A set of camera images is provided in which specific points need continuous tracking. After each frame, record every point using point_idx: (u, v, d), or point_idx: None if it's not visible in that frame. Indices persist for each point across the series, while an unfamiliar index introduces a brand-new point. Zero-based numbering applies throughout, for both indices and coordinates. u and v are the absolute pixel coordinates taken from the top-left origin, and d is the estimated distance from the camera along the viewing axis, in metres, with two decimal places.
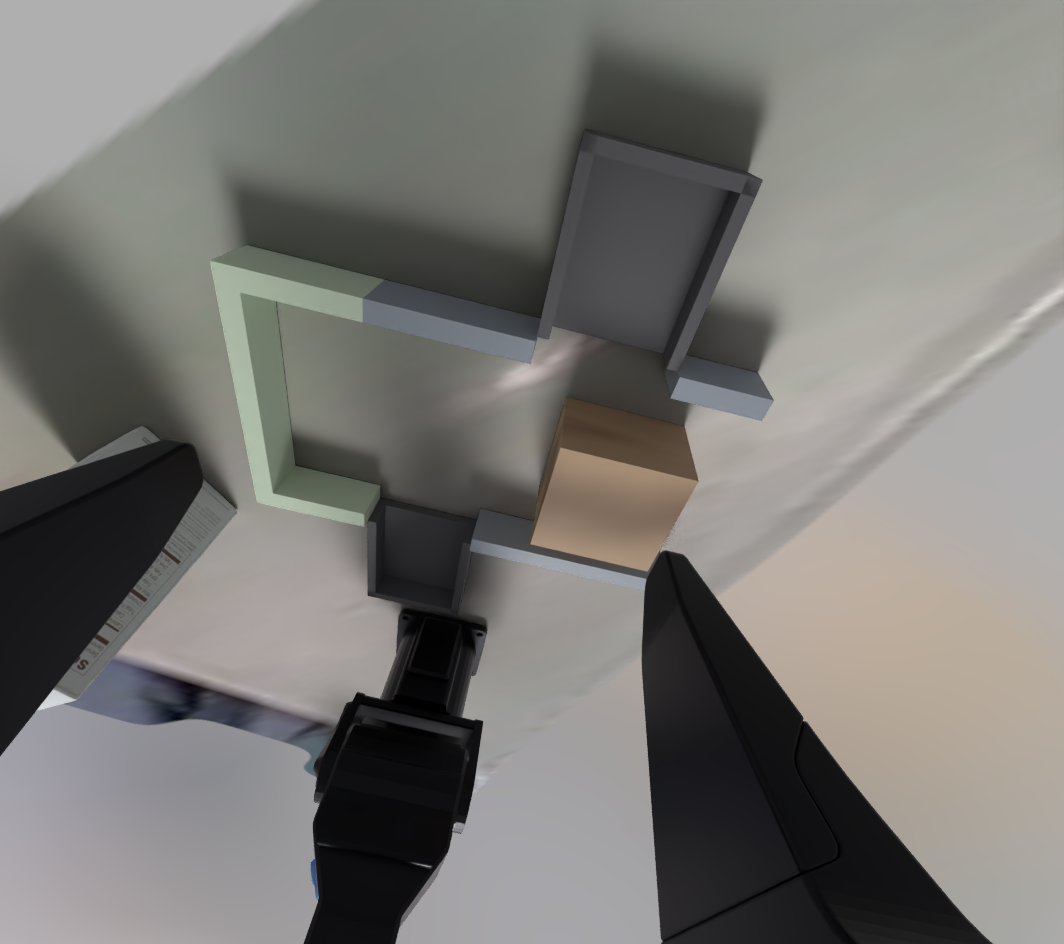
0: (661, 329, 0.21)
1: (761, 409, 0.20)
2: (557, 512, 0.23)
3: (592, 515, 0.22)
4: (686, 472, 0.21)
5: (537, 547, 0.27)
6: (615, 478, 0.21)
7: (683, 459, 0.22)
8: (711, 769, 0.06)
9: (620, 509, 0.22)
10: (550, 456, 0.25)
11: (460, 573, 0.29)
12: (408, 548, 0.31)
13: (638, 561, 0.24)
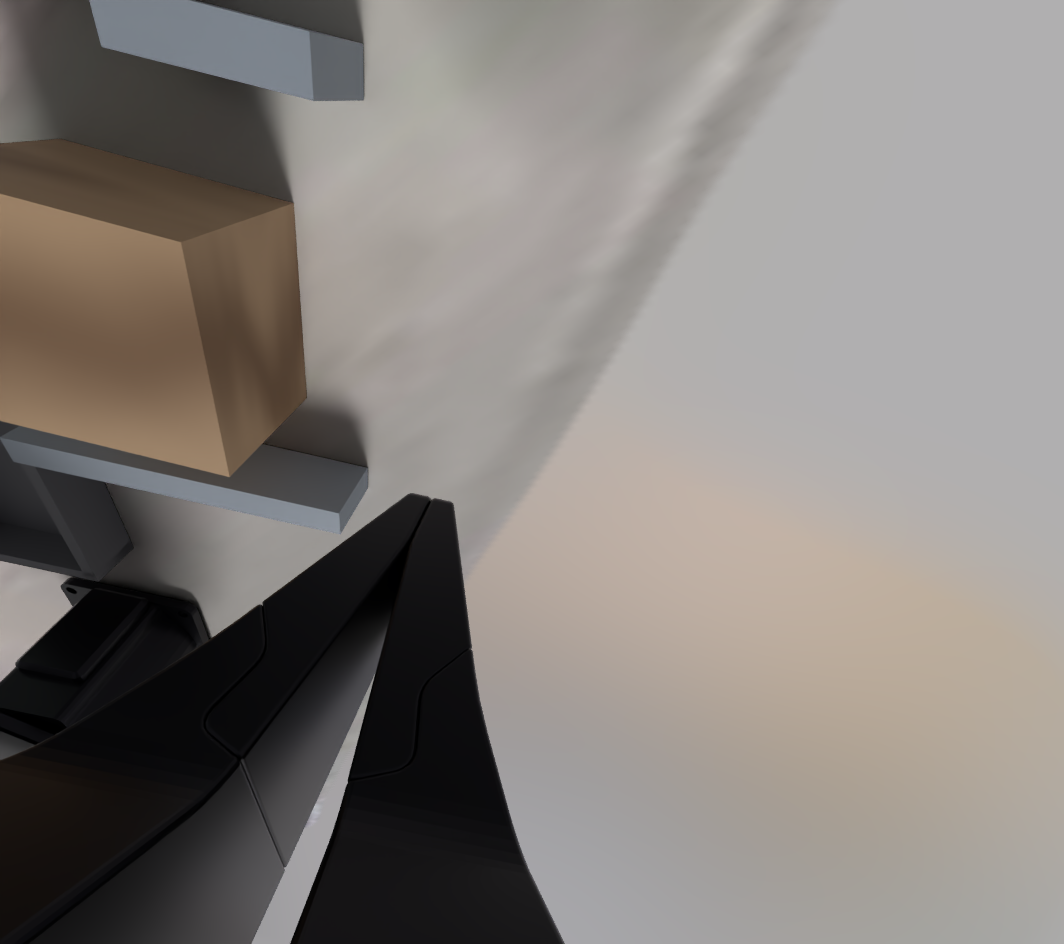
0: None
1: (295, 62, 0.09)
2: None
3: (50, 347, 0.11)
4: (170, 230, 0.10)
5: (125, 454, 0.16)
6: (22, 244, 0.10)
7: (201, 220, 0.10)
8: None
9: (86, 328, 0.11)
10: None
11: (51, 508, 0.18)
12: None
13: (200, 454, 0.13)
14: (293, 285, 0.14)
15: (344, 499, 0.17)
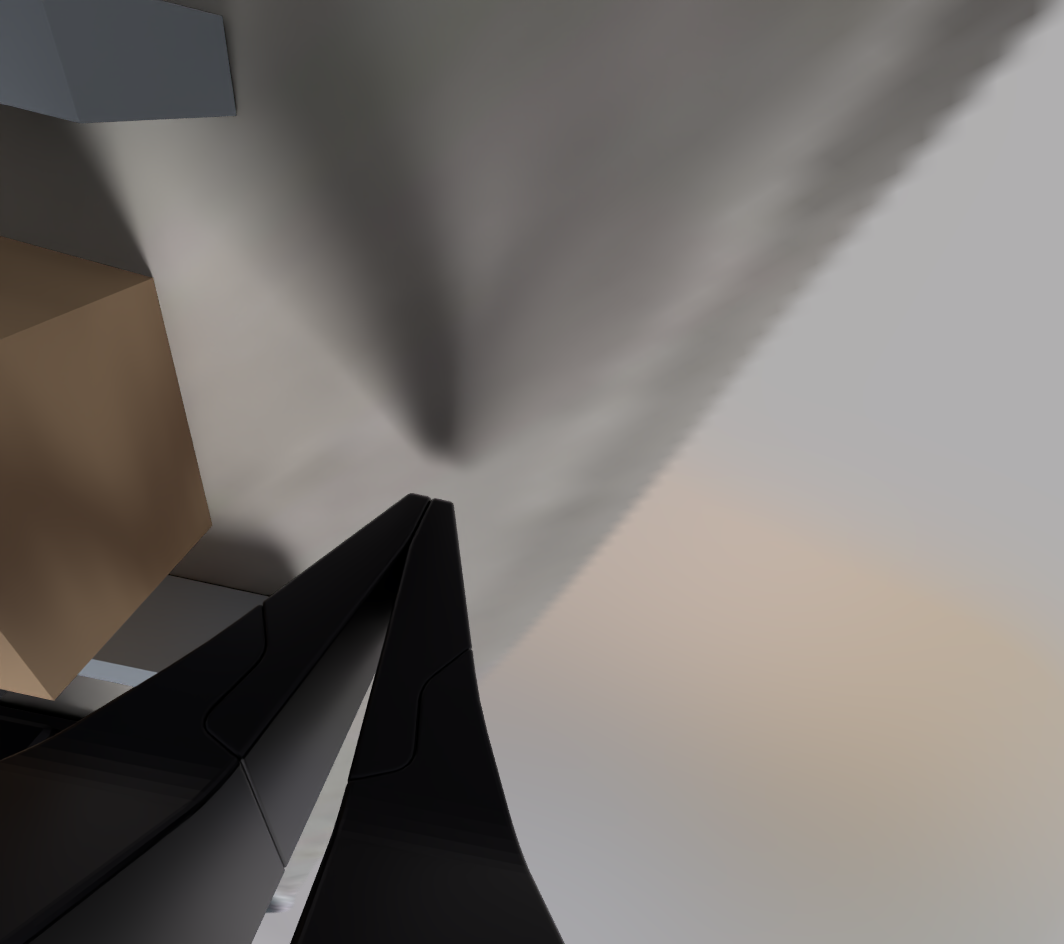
0: None
1: (24, 45, 0.04)
2: None
3: None
4: None
5: None
6: None
7: None
8: None
9: None
10: None
11: None
12: None
13: None
14: (167, 393, 0.09)
15: None
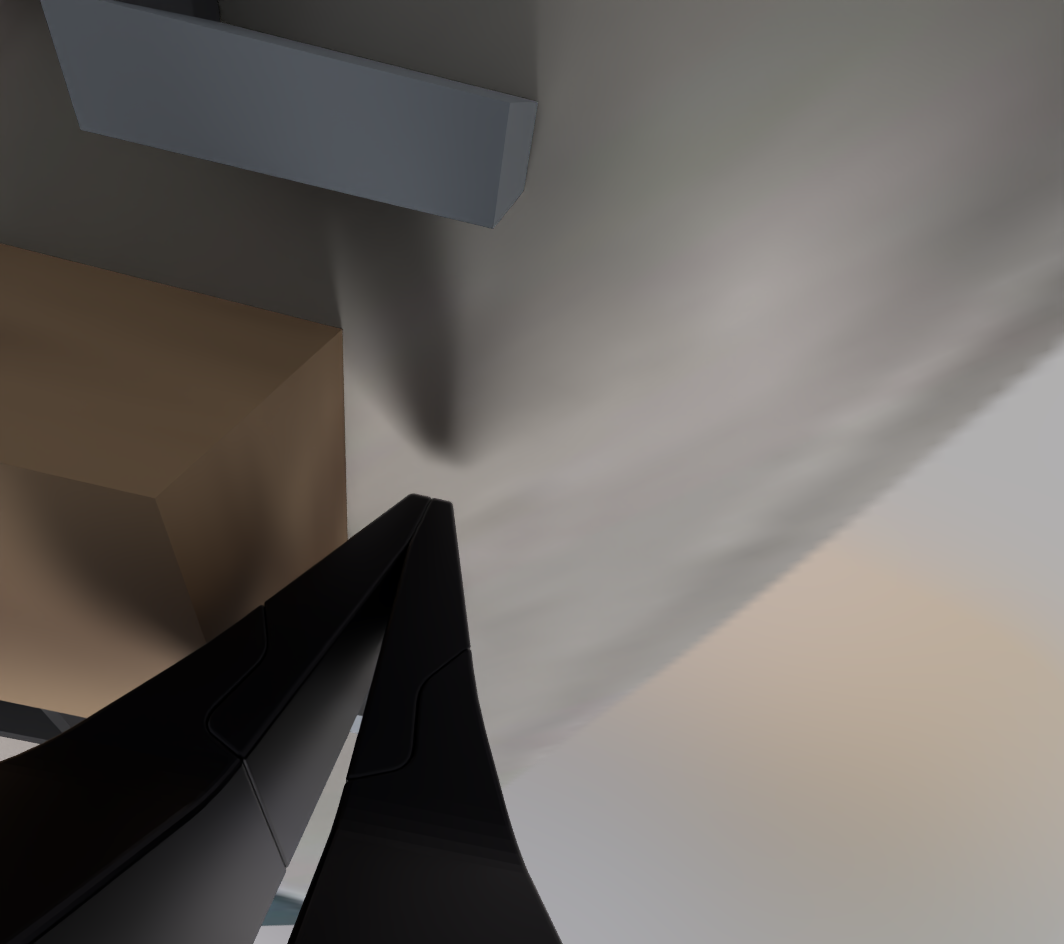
0: None
1: (469, 161, 0.04)
2: None
3: None
4: (136, 461, 0.05)
5: None
6: None
7: (194, 416, 0.06)
8: None
9: None
10: None
11: None
12: None
13: None
14: (335, 440, 0.09)
15: None
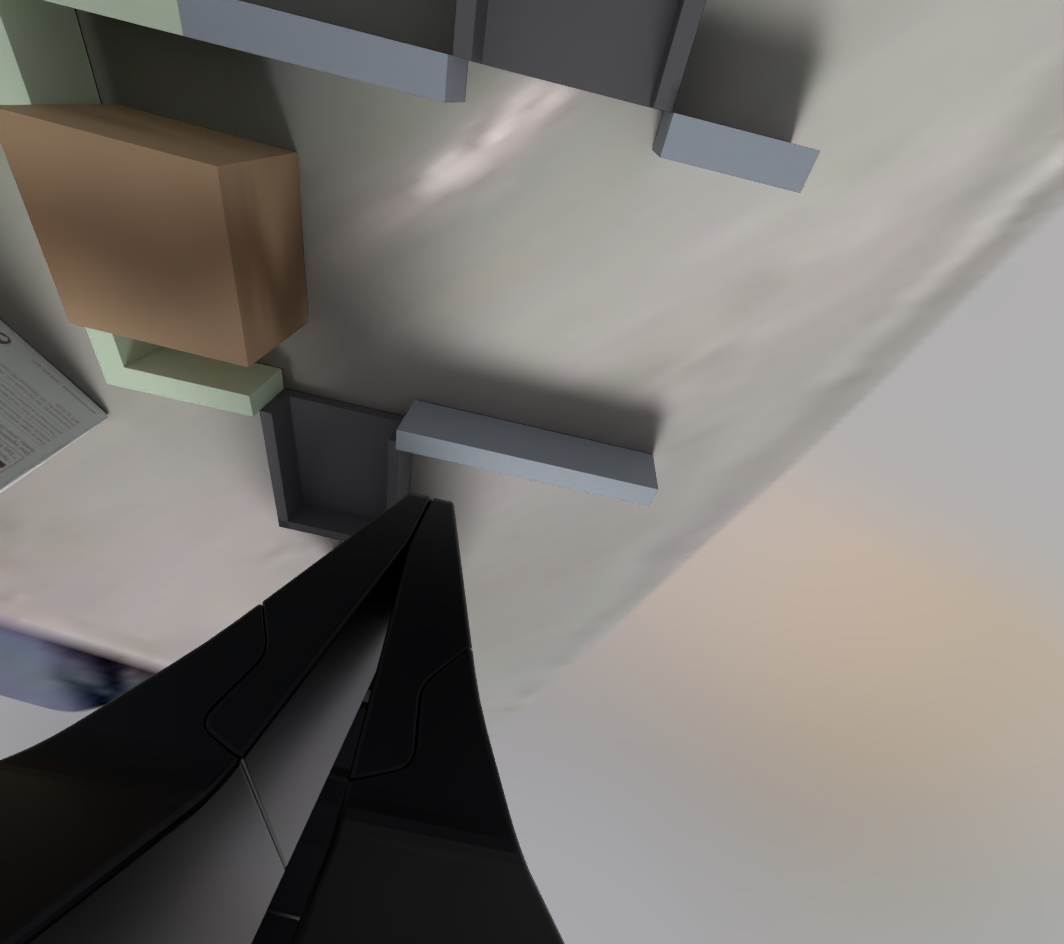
0: (645, 58, 0.14)
1: (799, 169, 0.13)
2: (66, 254, 0.15)
3: (115, 257, 0.15)
4: (208, 159, 0.13)
5: (486, 443, 0.20)
6: (101, 172, 0.13)
7: (229, 157, 0.14)
8: None
9: (144, 239, 0.14)
10: None
11: (391, 488, 0.22)
12: (327, 461, 0.24)
13: (226, 347, 0.16)
14: (297, 220, 0.17)
15: (654, 478, 0.21)
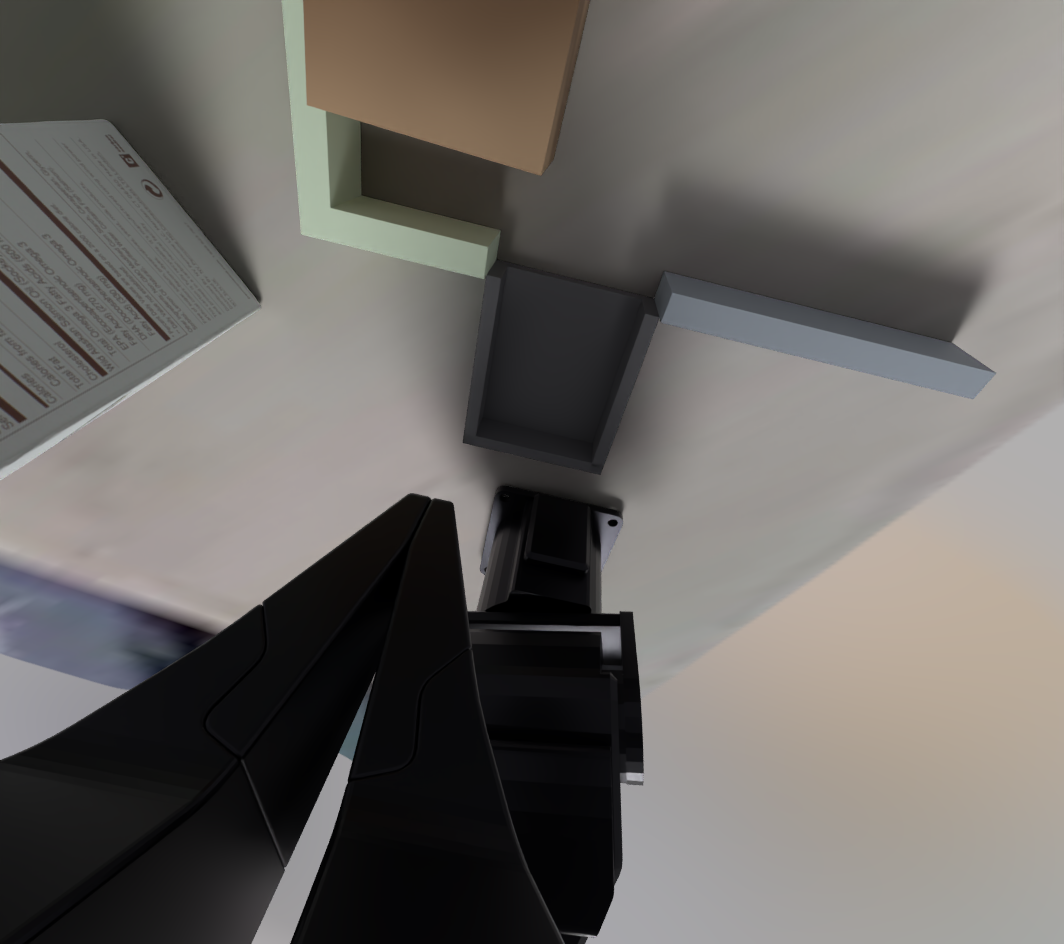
0: None
1: None
2: None
3: None
4: None
5: (777, 314, 0.16)
6: None
7: None
8: None
9: None
10: None
11: (625, 385, 0.18)
12: (531, 360, 0.20)
13: (520, 142, 0.12)
14: None
15: (980, 363, 0.16)
